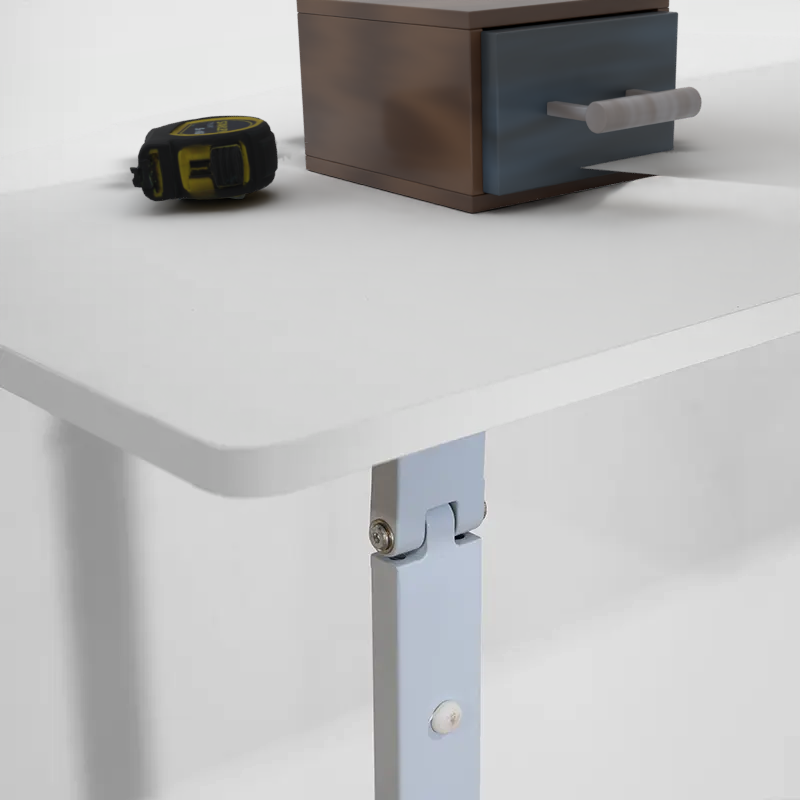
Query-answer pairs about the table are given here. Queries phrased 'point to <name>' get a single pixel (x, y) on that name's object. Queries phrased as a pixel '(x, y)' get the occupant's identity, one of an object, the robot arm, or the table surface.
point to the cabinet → (417, 92)
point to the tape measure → (207, 159)
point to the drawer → (577, 97)
